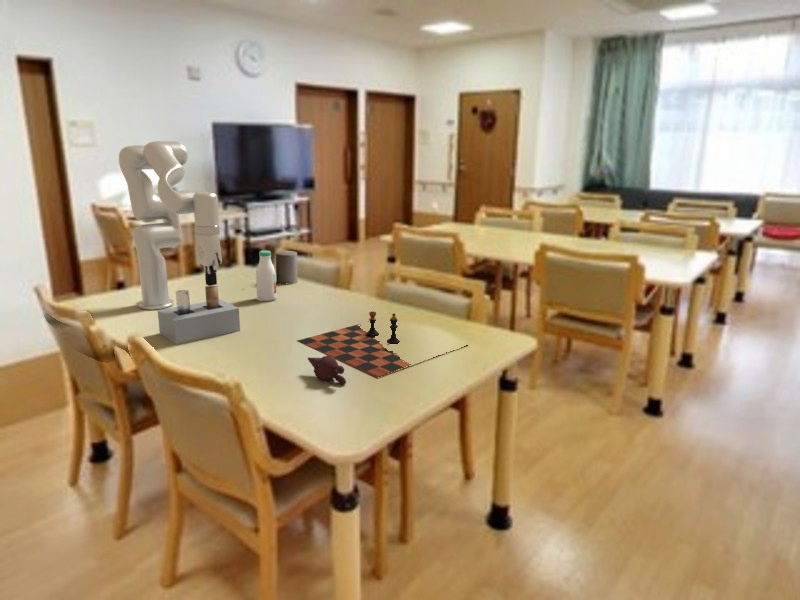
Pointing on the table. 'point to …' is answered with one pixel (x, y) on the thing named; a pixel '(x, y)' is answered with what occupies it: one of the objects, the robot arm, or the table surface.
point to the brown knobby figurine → (327, 368)
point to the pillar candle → (286, 267)
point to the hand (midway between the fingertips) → (211, 284)
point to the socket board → (198, 322)
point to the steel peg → (183, 302)
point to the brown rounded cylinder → (212, 297)
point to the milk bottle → (265, 278)
